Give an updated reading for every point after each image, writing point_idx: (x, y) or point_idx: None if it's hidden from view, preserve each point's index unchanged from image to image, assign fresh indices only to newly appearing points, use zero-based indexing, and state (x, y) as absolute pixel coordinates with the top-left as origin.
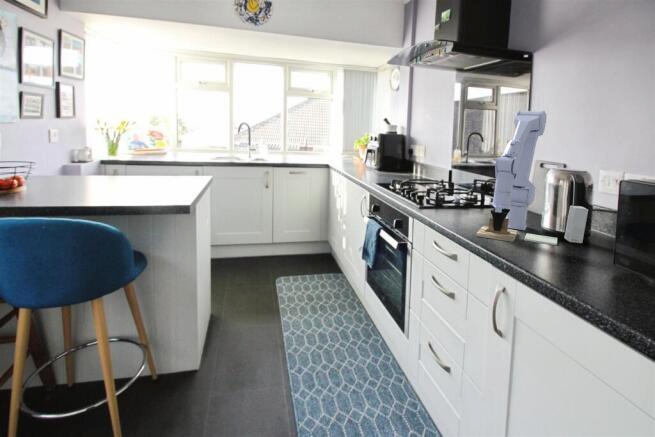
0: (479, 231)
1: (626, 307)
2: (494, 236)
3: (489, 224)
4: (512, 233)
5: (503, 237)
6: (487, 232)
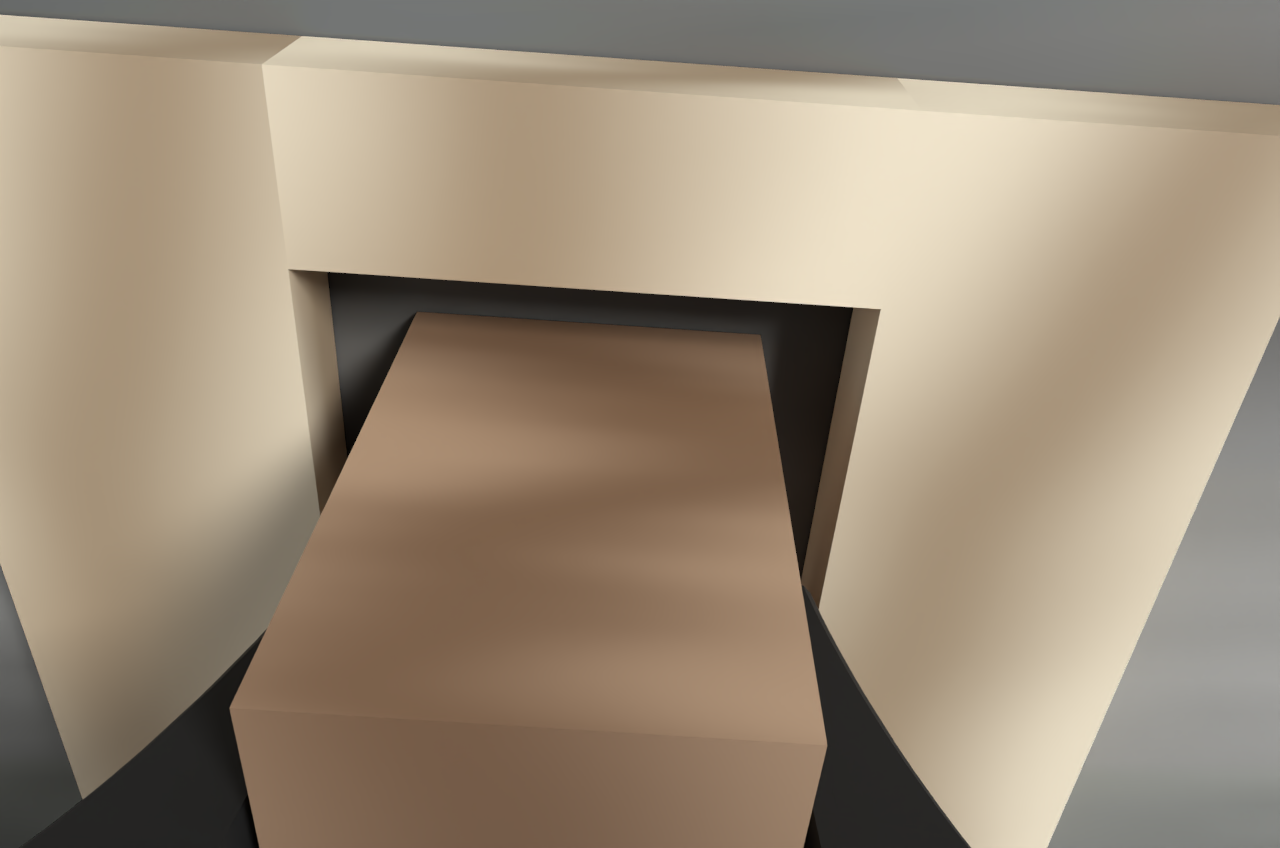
0: (131, 109)
1: None
2: (13, 528)
3: (324, 527)
4: None
5: (64, 699)
6: (212, 362)
